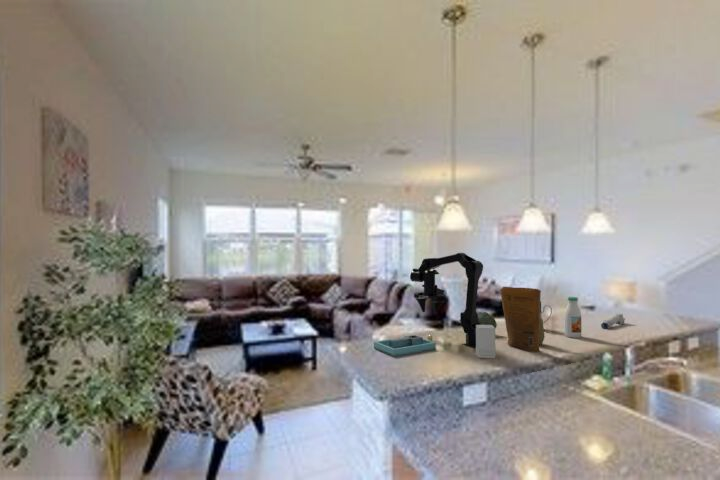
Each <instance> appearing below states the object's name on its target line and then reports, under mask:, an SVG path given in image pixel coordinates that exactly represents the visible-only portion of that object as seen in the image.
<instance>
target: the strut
mask: <svg viewBox="0 0 720 480" xmlns="http://www.w3.org/2000/svg"><path fill="white" fill-rule="evenodd" d="M423 339H424V338H423V337H422V336H419V335H417V334H412V335H405V336H403V338H402V337H397V339H395V338H390V340H389V339H388V340H389V347H391V348H393V349H396V348H402V347H408V346H414V345H420V344H423Z"/></svg>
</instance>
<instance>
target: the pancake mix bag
mask: <svg viewBox="0 0 720 480" xmlns="http://www.w3.org/2000/svg"><path fill="white" fill-rule="evenodd" d="M499 290H500V291H499V293H500V297H501V303H502V310H503V315H504V322H505V328H506V333H507V334H506V335H507V338H508V339H507V343H506V344H507V346H508V345H509V346H508V347H510V348H514V349H519V350H525V351H527V352H532V353H535V352H537V353H538V352H541V349H540V345H539V339H538V337H539V322H540V301H541V296H542V295H541V294H542V293H541V292H542V290H540V289H538V288H531V287H512V286H502V288H500V289H499Z"/></svg>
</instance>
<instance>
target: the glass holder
mask: <svg viewBox="0 0 720 480" xmlns="http://www.w3.org/2000/svg"><path fill="white" fill-rule="evenodd" d="M546 307H549V308H550V315H549V316H548V318H547V319H546V320H545V321H543V324H545V323H546V322H547V321H549V320H550V318H551V316H552V314H553V308H552V306H551V305H548V304H547V305H544V306H543V309H542V301H541V300H540V314H541V317H540V318H541V319H542V318H543V317H542V314H543V313H544V312H545V308H546ZM542 310H543V311H542ZM542 320H543V319H542Z"/></svg>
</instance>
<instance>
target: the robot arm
mask: <svg viewBox="0 0 720 480" xmlns="http://www.w3.org/2000/svg"><path fill="white" fill-rule="evenodd" d="M457 262H458V263H459V264H460V266H461V267H462V268H464V270H465V271H464V272H465V276H466V278H467V285H466V299H465V300H466V301H465V309H464V311H462V312H460V314H459V316H460V317H459V318H460V319H459V322H460V325H461V327H462V329H463V331H464V334H465V343H463V345H464V346H467V347H470V348H476V325H481V324H480V323H479V322H478V314H477V313H478V312H477V301H478V289H479V280H480V278H481V276H482V275H483V272H484V271H483V270H484V264H483V263H482V262H481V261H480V260H476V259H475V258H473V257H471V256H469V255H468V254H466V253H465V252H457V253H455V254H450V255H445V256H442V257H431V258H430V257H429V258H423V259H422V261H421V264H420V265H419V267H418V268H412V271H411V273H410V275H409V278H410V281H411V282H415V283H423V284H421V287H422V288H423V291H415V292H414V293H413V298H415V300H416V302H417V303H418V305H419V307H420V310H421V311H422V313H425V312H426V303H427V300H428V299H431V305H432V309H433V313H434V314H433V315H434V316H437V315H438V312H439V309H440V307H441V305H442V304H443V303H445V302H446V301H447V297H446V295H444V294H445V290H444V289H441V288H440V287H438V285H437V284H436V275H439V274H440V273H439V272H438V270H437V269H438V268H439V267H441V266H443V265H448V264H453V263H457Z"/></svg>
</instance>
